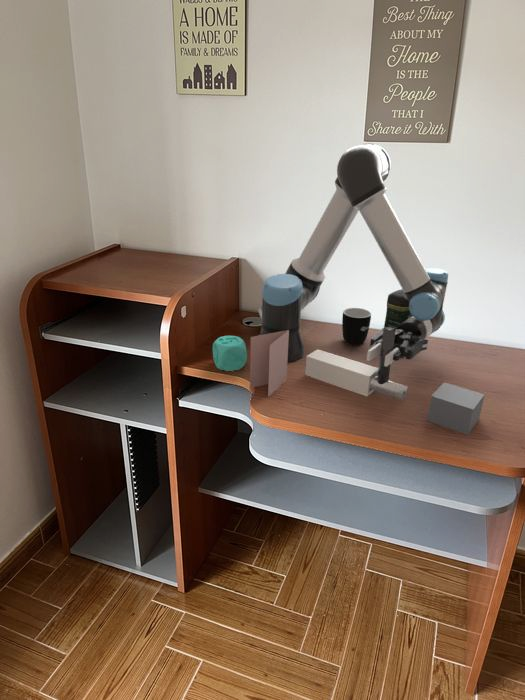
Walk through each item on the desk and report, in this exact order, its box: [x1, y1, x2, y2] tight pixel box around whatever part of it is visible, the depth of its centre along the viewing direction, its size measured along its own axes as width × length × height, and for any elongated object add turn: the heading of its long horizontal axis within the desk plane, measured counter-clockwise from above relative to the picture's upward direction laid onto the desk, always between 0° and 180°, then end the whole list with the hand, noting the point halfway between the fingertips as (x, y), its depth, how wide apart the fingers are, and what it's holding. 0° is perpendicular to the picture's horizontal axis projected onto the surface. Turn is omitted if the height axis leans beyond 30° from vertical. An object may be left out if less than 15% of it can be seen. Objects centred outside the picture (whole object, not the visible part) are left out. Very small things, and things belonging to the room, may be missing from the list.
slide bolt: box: [370, 327, 409, 400], centre depth 143 cm, size 26×4×18 cm, turn 53°
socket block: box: [426, 382, 485, 436], centre depth 132 cm, size 10×9×7 cm
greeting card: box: [249, 330, 289, 398], centre depth 143 cm, size 11×7×15 cm, turn 118°
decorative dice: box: [212, 335, 248, 372], centre depth 156 cm, size 8×8×8 cm
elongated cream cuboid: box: [304, 348, 379, 397], centre depth 149 cm, size 20×6×6 cm, turn 53°
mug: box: [341, 307, 372, 346], centre depth 175 cm, size 12×9×10 cm
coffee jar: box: [383, 288, 412, 350], centre depth 170 cm, size 10×8×19 cm
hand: (377, 358), depth 134 cm, fingers open, 4 cm apart
